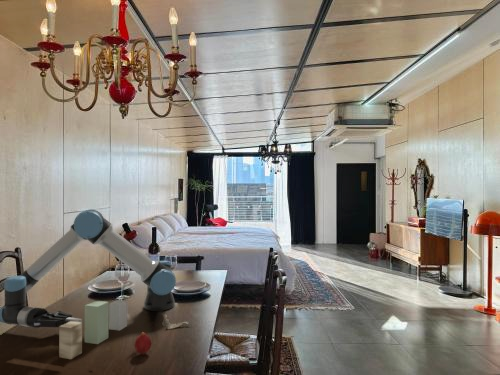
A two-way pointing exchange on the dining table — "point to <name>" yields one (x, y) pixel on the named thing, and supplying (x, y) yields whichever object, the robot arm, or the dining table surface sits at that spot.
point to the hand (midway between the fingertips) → (80, 322)
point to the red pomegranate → (143, 343)
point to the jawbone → (172, 326)
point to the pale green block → (96, 322)
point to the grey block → (117, 315)
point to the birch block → (70, 340)
